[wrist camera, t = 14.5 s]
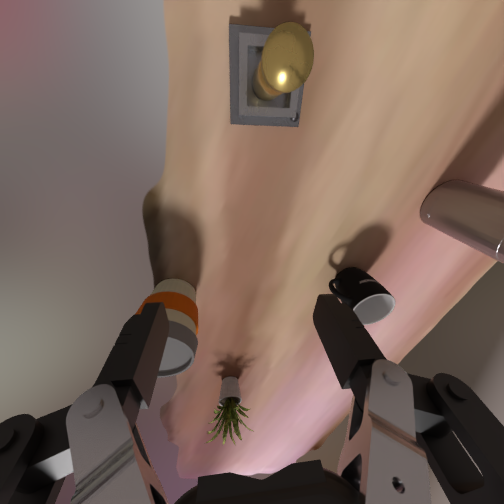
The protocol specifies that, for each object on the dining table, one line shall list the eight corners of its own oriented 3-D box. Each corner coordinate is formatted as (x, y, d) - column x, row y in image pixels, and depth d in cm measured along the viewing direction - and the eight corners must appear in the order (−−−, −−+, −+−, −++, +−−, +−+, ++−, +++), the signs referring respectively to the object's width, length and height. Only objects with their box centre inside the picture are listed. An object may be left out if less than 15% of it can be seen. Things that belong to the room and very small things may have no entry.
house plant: (196, 385, 69) (188, 451, 55) (218, 364, 63) (216, 432, 50) (231, 393, 74) (233, 455, 60) (255, 375, 69) (262, 438, 55)
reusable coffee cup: (165, 261, 42) (138, 322, 29) (215, 290, 47) (211, 351, 34) (134, 297, 46) (100, 365, 33) (183, 320, 51) (170, 384, 39)
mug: (373, 266, 48) (405, 297, 40) (353, 294, 53) (377, 327, 44) (330, 256, 45) (354, 287, 37) (312, 286, 50) (330, 320, 41)
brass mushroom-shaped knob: (286, 60, 26) (318, 23, 17) (282, 104, 29) (309, 92, 20) (250, 58, 26) (263, 19, 17) (250, 103, 28) (261, 91, 19)
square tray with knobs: (308, 33, 26) (316, 25, 24) (296, 126, 31) (302, 127, 29) (228, 26, 25) (229, 17, 23) (230, 124, 30) (230, 124, 28)
